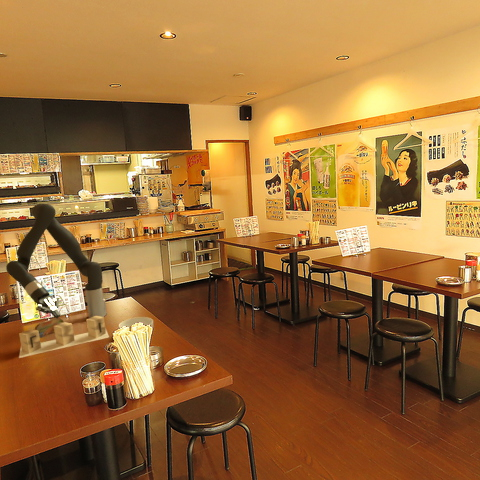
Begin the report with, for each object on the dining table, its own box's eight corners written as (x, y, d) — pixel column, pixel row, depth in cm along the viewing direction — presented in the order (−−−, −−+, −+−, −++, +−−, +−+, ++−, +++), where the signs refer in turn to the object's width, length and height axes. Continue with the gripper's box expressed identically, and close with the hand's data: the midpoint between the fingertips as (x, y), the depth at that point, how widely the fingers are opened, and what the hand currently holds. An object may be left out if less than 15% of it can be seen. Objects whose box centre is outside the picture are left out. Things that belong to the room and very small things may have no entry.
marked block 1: (98, 332, 205) (96, 315, 204) (106, 333, 202) (104, 317, 200) (88, 336, 200) (86, 319, 199) (96, 338, 197) (94, 321, 195)
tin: (37, 341, 201) (35, 325, 200) (34, 340, 203) (32, 324, 202) (65, 331, 213) (63, 316, 212) (62, 330, 215) (60, 315, 214)
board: (105, 330, 209) (105, 328, 209) (109, 339, 197) (109, 337, 197) (21, 349, 192) (20, 347, 192) (19, 360, 180) (18, 357, 180)
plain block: (67, 338, 199) (64, 321, 197) (74, 340, 195) (72, 323, 194) (56, 343, 194) (53, 326, 192) (63, 345, 190) (61, 327, 189)
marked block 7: (34, 346, 192) (31, 328, 191) (41, 348, 189) (38, 330, 187) (22, 351, 187) (19, 333, 186) (29, 353, 184) (26, 335, 182)
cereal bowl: (119, 345, 189) (117, 331, 187) (120, 332, 204) (118, 320, 203) (155, 339, 193) (153, 325, 192) (153, 327, 209) (152, 314, 208)
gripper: (28, 290, 188) (50, 316, 186) (50, 283, 200) (72, 307, 198) (22, 300, 191) (44, 326, 188) (44, 292, 203) (65, 317, 200)
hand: (58, 316), depth 193 cm, fingers closed
